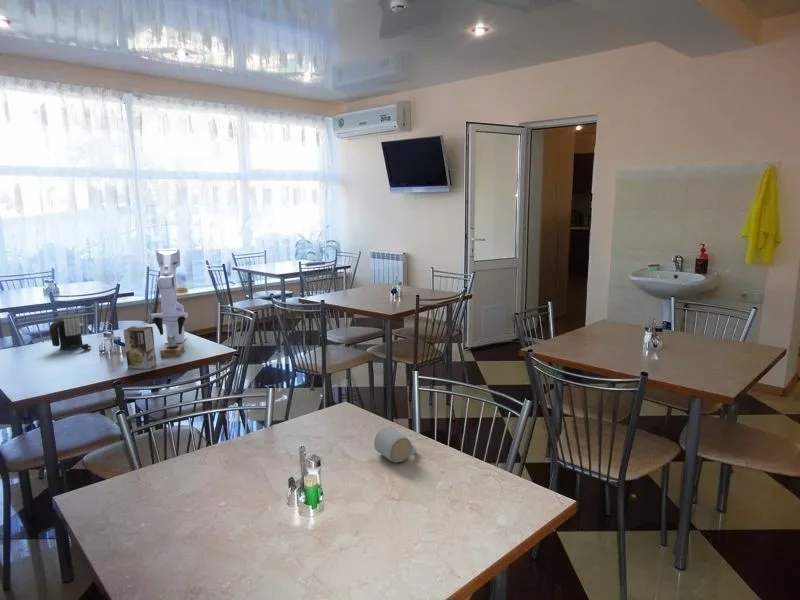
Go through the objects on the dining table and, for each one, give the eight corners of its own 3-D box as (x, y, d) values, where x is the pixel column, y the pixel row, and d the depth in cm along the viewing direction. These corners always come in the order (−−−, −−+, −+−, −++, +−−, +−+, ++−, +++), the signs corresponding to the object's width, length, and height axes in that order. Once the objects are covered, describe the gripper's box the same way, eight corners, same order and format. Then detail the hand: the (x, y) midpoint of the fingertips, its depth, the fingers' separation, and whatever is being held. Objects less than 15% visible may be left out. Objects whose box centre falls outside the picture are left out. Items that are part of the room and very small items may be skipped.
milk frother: (67, 344, 248) (63, 313, 246) (102, 343, 249) (98, 313, 246) (49, 353, 235) (44, 320, 232) (85, 352, 235) (81, 320, 232)
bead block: (165, 351, 237) (165, 345, 236) (184, 350, 238) (184, 344, 237) (160, 357, 229) (160, 350, 228) (180, 356, 230) (179, 349, 229)
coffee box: (157, 364, 219) (153, 326, 216) (148, 369, 213) (144, 330, 210) (136, 363, 220) (132, 325, 217) (126, 368, 214) (122, 329, 211)
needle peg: (170, 353, 235) (168, 335, 233) (177, 352, 235) (175, 335, 233) (168, 355, 232) (166, 337, 230) (175, 354, 232) (173, 337, 230)
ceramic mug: (391, 468, 136) (391, 440, 135) (373, 456, 142) (373, 429, 141) (423, 456, 142) (423, 430, 141) (404, 445, 149) (404, 419, 147)
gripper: (147, 306, 224) (150, 337, 227) (183, 304, 226) (186, 335, 229) (152, 302, 231) (155, 332, 233) (187, 301, 233) (190, 331, 236)
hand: (171, 334), depth 232 cm, fingers open, 7 cm apart
